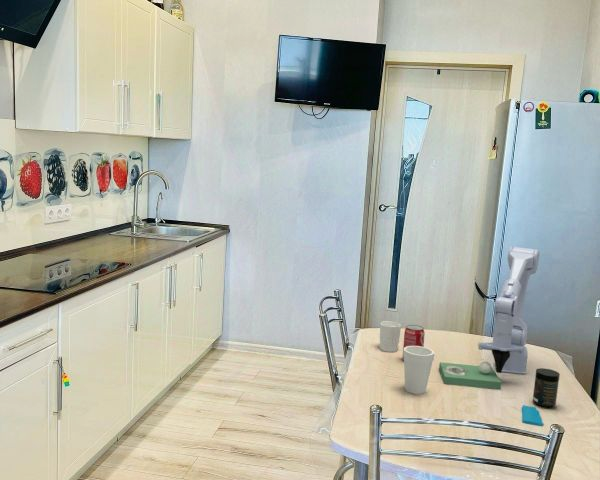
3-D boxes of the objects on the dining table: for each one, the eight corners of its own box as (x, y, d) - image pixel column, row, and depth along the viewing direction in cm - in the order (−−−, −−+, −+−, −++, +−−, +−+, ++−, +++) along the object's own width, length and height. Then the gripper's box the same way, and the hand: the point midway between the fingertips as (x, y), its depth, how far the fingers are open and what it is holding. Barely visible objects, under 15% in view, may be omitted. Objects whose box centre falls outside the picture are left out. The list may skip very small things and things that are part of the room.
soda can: (422, 366, 208) (425, 330, 206) (401, 363, 209) (404, 328, 207) (422, 359, 215) (425, 325, 213) (402, 357, 216) (405, 323, 214)
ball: (489, 371, 199) (490, 360, 199) (491, 376, 195) (493, 364, 195) (477, 370, 200) (478, 359, 199) (479, 374, 196) (480, 363, 195)
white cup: (400, 353, 221) (402, 327, 219) (379, 351, 221) (381, 326, 219) (397, 346, 228) (399, 321, 227) (377, 345, 228) (379, 320, 227)
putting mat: (491, 374, 204) (492, 367, 204) (500, 389, 190) (501, 382, 190) (439, 369, 206) (439, 362, 206) (444, 383, 192) (444, 376, 192)
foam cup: (432, 387, 188) (435, 348, 186) (428, 398, 180) (432, 357, 178) (402, 382, 191) (406, 344, 189) (397, 392, 183) (401, 352, 181)
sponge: (542, 409, 175) (522, 402, 177) (544, 425, 164) (522, 418, 166) (541, 413, 176) (521, 407, 178) (543, 430, 165) (521, 423, 166)
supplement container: (560, 408, 178) (564, 375, 177) (542, 410, 176) (546, 376, 175) (545, 399, 185) (549, 367, 183) (527, 400, 183) (531, 368, 181)
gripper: (482, 334, 192) (478, 373, 193) (528, 338, 190) (523, 378, 192) (478, 328, 199) (474, 366, 200) (522, 332, 197) (518, 370, 199)
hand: (498, 371), depth 197 cm, fingers closed
